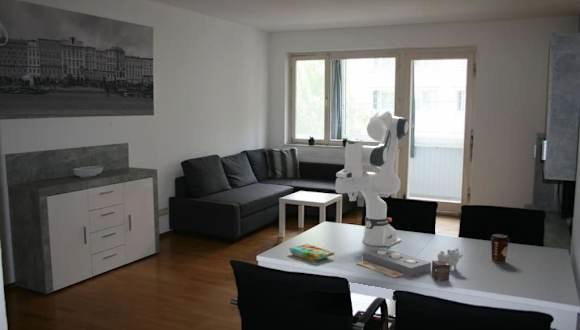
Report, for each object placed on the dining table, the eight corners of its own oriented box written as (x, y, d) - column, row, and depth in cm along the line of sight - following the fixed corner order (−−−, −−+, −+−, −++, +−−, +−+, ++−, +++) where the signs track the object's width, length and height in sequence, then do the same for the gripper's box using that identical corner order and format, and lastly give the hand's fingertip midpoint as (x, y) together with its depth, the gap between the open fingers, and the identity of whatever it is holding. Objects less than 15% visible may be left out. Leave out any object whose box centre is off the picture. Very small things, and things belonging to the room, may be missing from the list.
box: (431, 276, 229) (431, 260, 228) (444, 276, 230) (444, 260, 229) (436, 281, 223) (436, 264, 222) (449, 280, 224) (450, 264, 223)
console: (382, 255, 260) (382, 247, 260) (430, 270, 236) (431, 262, 236) (362, 260, 252) (362, 252, 251) (410, 276, 228) (411, 268, 228)
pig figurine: (456, 273, 233) (457, 251, 232) (435, 266, 244) (436, 244, 242) (464, 272, 236) (465, 249, 234) (443, 264, 246) (444, 243, 245)
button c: (409, 265, 240) (410, 259, 239) (417, 267, 236) (417, 261, 236) (403, 267, 237) (403, 260, 237) (411, 269, 234) (411, 263, 233)
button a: (381, 256, 254) (381, 250, 254) (388, 258, 251) (388, 252, 250) (375, 257, 251) (375, 251, 251) (381, 259, 248) (382, 253, 248)
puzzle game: (306, 242, 267) (334, 250, 252) (306, 251, 267) (334, 260, 253) (289, 246, 259) (317, 255, 244) (289, 255, 259) (317, 264, 245)
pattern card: (365, 261, 249) (365, 260, 249) (403, 275, 230) (404, 273, 230) (356, 264, 245) (356, 262, 245) (394, 278, 226) (395, 276, 226)
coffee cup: (507, 259, 255) (509, 234, 253) (508, 264, 247) (510, 238, 246) (488, 258, 258) (490, 232, 256) (489, 262, 250) (491, 236, 248)
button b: (395, 258, 247) (395, 252, 246) (402, 260, 243) (402, 254, 243) (389, 259, 244) (389, 253, 244) (396, 262, 241) (396, 256, 240)
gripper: (364, 170, 258) (363, 197, 259) (333, 173, 245) (332, 201, 247) (373, 172, 253) (372, 199, 254) (342, 175, 240) (341, 204, 242)
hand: (352, 200), depth 250 cm, fingers closed
